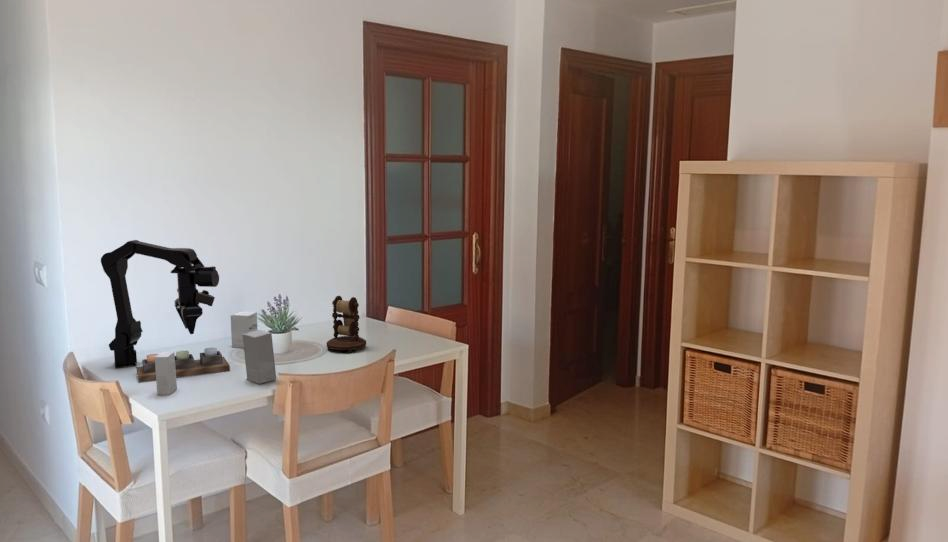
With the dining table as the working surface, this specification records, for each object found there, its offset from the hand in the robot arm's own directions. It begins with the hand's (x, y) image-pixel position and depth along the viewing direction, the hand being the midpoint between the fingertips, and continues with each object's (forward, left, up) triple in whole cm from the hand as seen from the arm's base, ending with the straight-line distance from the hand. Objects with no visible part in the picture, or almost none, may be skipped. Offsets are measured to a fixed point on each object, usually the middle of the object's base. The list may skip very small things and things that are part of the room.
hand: (189, 331), depth 253 cm
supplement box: (+22, +21, -13) cm, 33 cm away
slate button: (+6, -5, -9) cm, 12 cm away
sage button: (-3, -5, -9) cm, 11 cm away
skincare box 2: (+18, -26, -13) cm, 34 cm away
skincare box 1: (-10, -25, -13) cm, 30 cm away
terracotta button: (-12, -5, -9) cm, 16 cm away
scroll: (+55, -1, -13) cm, 56 cm away
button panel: (-3, -5, -13) cm, 14 cm away
